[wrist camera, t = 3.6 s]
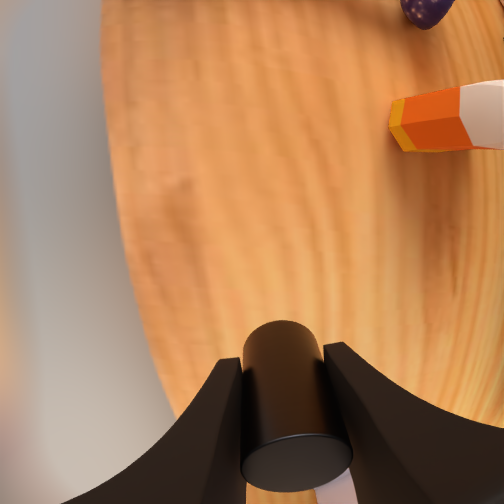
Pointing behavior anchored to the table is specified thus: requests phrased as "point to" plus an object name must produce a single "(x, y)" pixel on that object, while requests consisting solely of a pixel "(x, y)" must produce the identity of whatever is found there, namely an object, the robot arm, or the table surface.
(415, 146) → the candy corn
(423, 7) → the purple dumbbell
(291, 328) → the peg
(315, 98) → the table surface
